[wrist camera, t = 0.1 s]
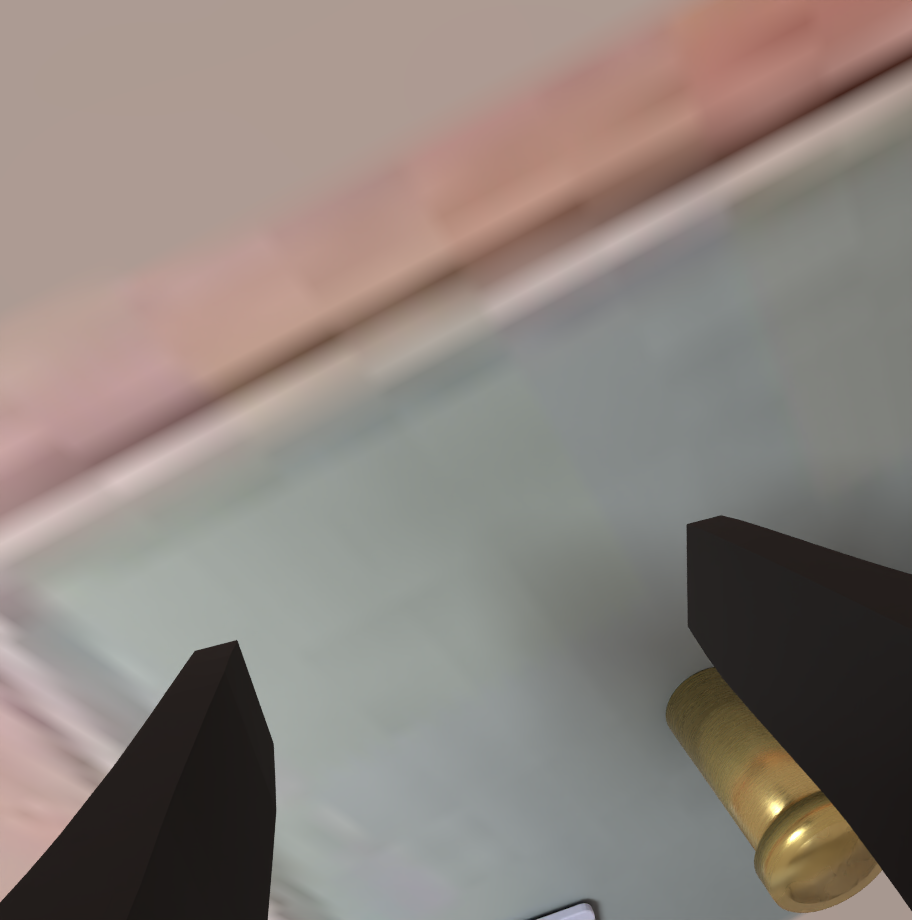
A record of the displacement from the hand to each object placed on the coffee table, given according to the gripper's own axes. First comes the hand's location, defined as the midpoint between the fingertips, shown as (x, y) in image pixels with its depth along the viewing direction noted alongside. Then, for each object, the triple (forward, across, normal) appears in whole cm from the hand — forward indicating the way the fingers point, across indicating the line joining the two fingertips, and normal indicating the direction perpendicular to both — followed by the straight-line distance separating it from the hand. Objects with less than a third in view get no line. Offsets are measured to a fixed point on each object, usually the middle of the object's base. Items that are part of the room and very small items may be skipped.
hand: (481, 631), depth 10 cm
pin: (+10, -10, +14) cm, 20 cm away
